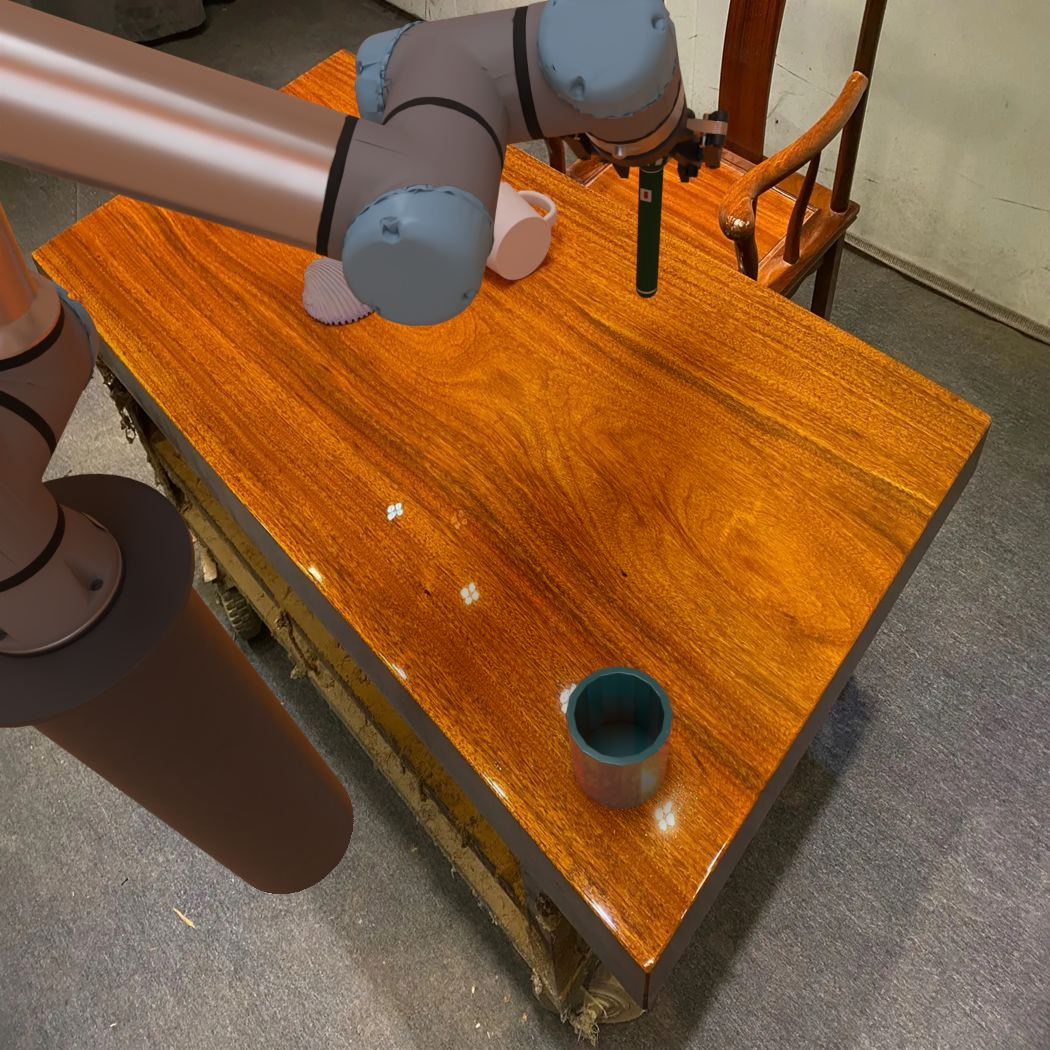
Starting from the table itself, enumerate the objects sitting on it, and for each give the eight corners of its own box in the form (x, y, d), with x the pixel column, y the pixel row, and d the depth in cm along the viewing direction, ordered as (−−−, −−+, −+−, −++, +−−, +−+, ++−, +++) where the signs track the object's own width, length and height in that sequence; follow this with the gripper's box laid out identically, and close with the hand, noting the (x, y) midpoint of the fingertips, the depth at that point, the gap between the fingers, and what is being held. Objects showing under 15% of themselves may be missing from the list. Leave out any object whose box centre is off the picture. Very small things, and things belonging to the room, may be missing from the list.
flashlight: (613, 301, 96) (614, 123, 79) (632, 270, 98) (637, 91, 82) (660, 314, 94) (670, 135, 78) (678, 282, 96) (692, 102, 80)
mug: (494, 295, 108) (485, 239, 102) (449, 255, 113) (438, 200, 106) (575, 248, 112) (572, 191, 105) (528, 212, 116) (522, 155, 110)
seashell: (326, 234, 112) (387, 242, 107) (344, 272, 116) (403, 282, 111) (271, 284, 108) (331, 296, 102) (292, 322, 112) (351, 335, 106)
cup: (608, 827, 73) (605, 785, 65) (555, 750, 77) (546, 701, 69) (686, 774, 75) (693, 727, 66) (630, 701, 79) (631, 648, 70)
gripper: (501, 149, 68) (558, 199, 90) (753, 167, 65) (747, 214, 87) (512, 39, 67) (567, 117, 89) (770, 50, 63) (759, 129, 85)
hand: (656, 165), depth 88 cm, fingers closed on flashlight, 5 cm apart
